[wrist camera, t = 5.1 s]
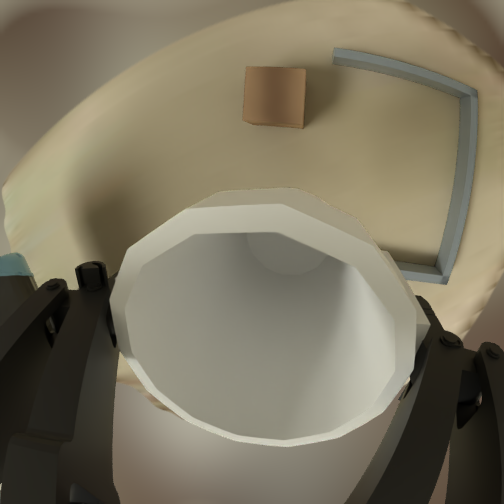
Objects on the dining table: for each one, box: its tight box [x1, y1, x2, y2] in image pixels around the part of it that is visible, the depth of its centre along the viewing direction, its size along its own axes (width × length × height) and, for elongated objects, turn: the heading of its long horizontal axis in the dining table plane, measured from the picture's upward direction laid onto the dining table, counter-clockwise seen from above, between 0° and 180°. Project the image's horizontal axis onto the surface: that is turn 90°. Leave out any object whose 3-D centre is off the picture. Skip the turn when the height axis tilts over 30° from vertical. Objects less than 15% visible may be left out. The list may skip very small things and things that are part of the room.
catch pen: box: [332, 48, 478, 285], centre depth 28 cm, size 19×26×3 cm
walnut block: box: [243, 67, 306, 129], centre depth 27 cm, size 6×6×6 cm
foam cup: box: [109, 188, 416, 447], centre depth 13 cm, size 10×9×13 cm
